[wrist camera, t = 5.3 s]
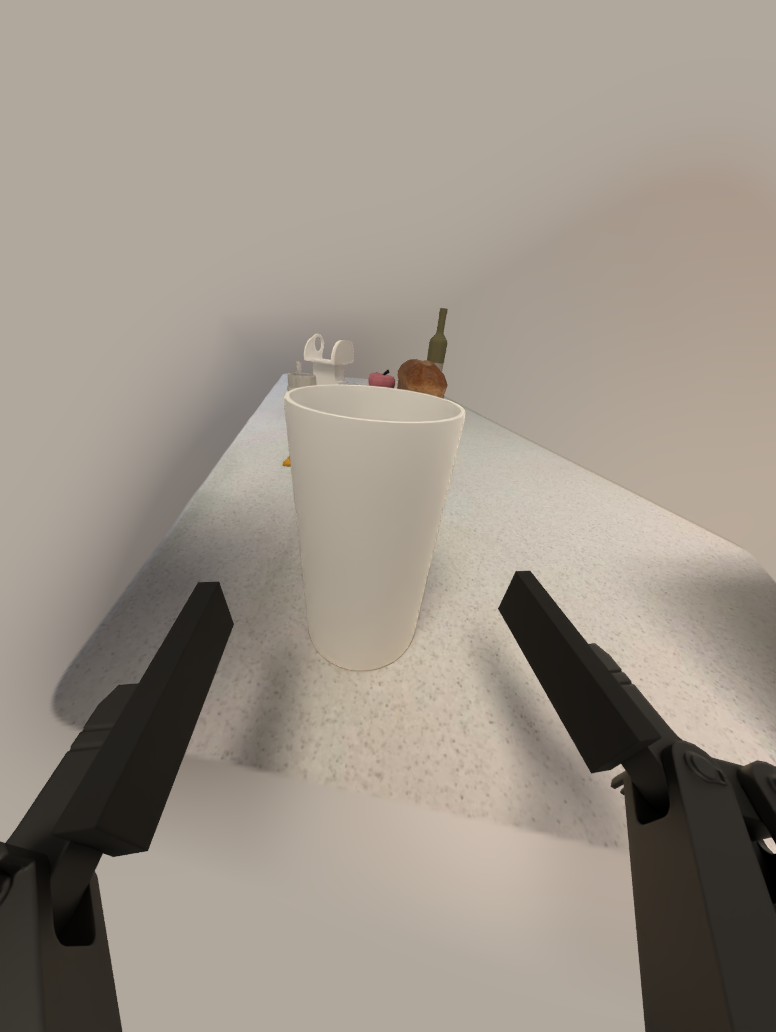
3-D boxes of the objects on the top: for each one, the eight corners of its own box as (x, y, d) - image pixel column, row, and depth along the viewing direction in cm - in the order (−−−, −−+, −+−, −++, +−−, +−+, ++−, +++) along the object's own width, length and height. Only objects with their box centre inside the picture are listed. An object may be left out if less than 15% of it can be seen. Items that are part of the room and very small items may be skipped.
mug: (290, 422, 65) (284, 364, 58) (286, 410, 74) (281, 359, 67) (323, 421, 67) (320, 366, 61) (315, 410, 76) (312, 361, 70)
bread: (425, 403, 100) (432, 359, 93) (444, 423, 77) (455, 366, 69) (392, 401, 99) (397, 355, 91) (402, 420, 76) (409, 361, 68)
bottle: (419, 393, 119) (431, 308, 103) (434, 394, 121) (448, 310, 105) (425, 396, 114) (439, 306, 98) (440, 397, 116) (456, 309, 99)
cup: (312, 581, 24) (295, 379, 15) (403, 576, 25) (434, 390, 17) (303, 678, 17) (264, 415, 9) (427, 664, 19) (501, 428, 10)
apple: (386, 397, 104) (389, 368, 98) (397, 402, 98) (401, 371, 92) (363, 397, 100) (364, 366, 94) (373, 402, 93) (375, 369, 88)
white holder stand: (305, 385, 110) (302, 332, 100) (326, 383, 120) (324, 334, 110) (334, 391, 105) (333, 335, 95) (353, 388, 115) (354, 337, 105)
